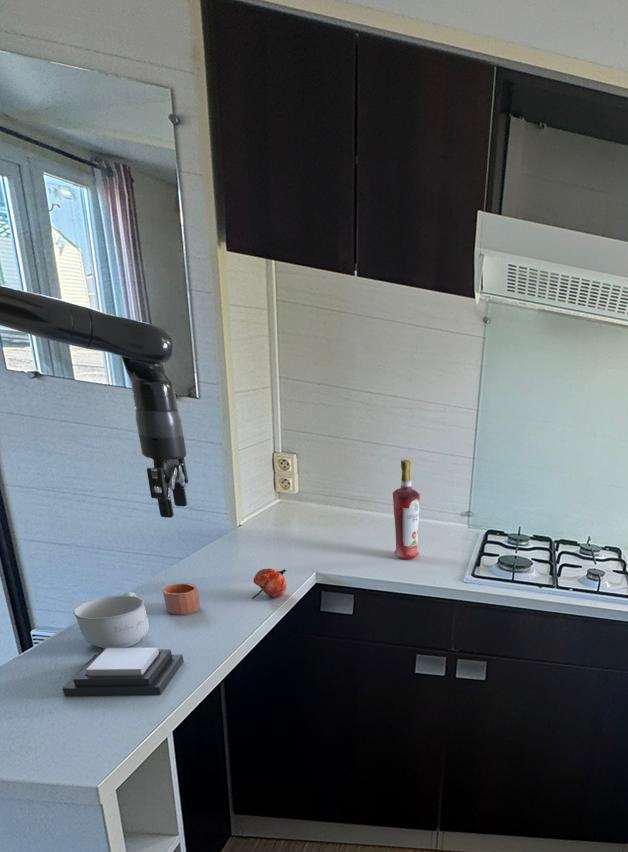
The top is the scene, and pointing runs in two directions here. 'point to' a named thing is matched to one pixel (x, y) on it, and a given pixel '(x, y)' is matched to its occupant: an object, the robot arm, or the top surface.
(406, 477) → the liquor
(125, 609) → the teacup
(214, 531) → the top surface
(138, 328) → the robot arm
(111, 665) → the pale square tile
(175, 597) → the orange cup
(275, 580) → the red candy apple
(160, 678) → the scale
